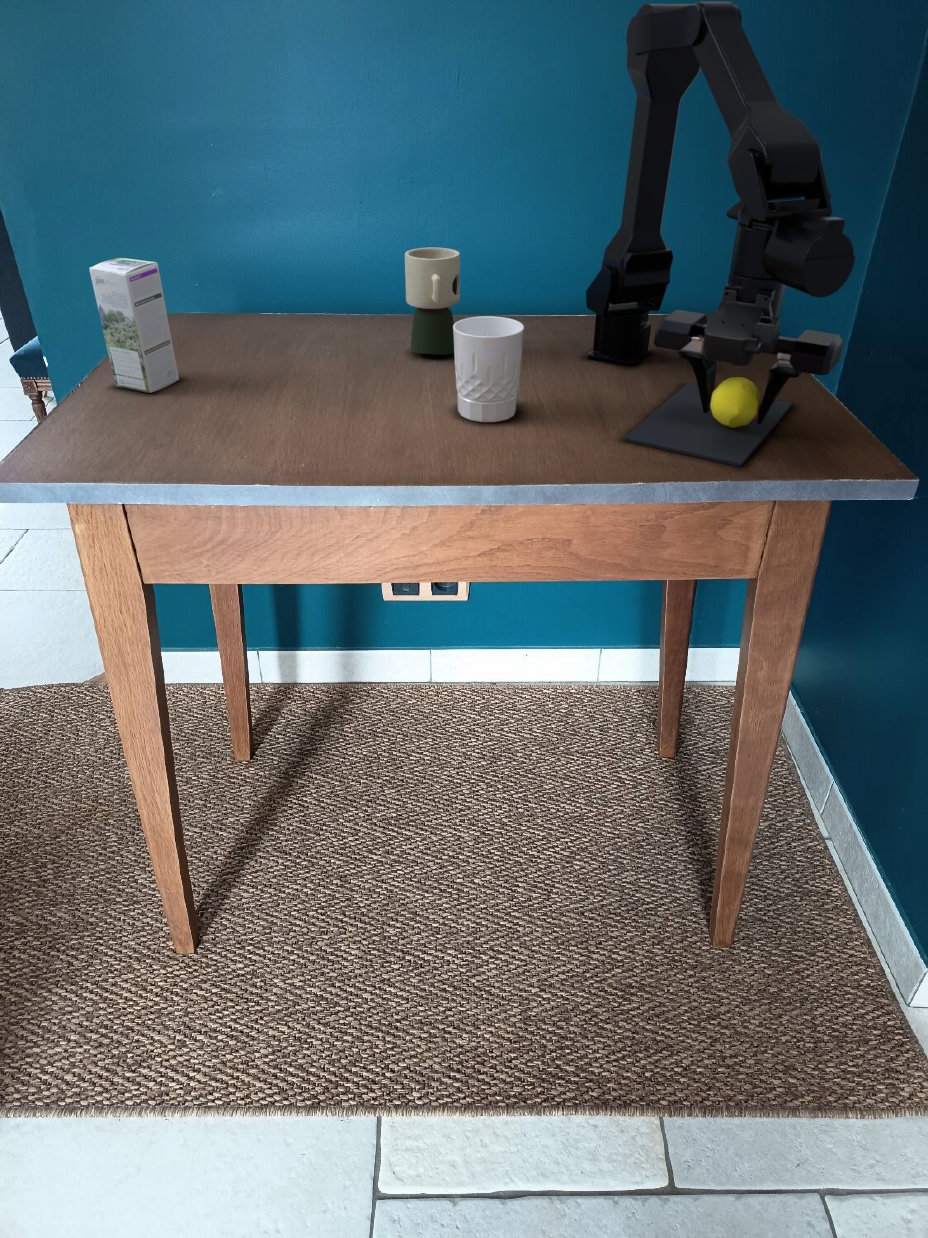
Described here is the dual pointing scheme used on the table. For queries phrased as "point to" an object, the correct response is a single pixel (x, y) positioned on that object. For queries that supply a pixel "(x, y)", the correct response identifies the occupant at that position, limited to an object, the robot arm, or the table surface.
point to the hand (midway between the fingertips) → (732, 417)
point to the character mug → (432, 297)
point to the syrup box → (135, 323)
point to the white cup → (487, 367)
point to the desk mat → (703, 429)
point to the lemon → (735, 402)
